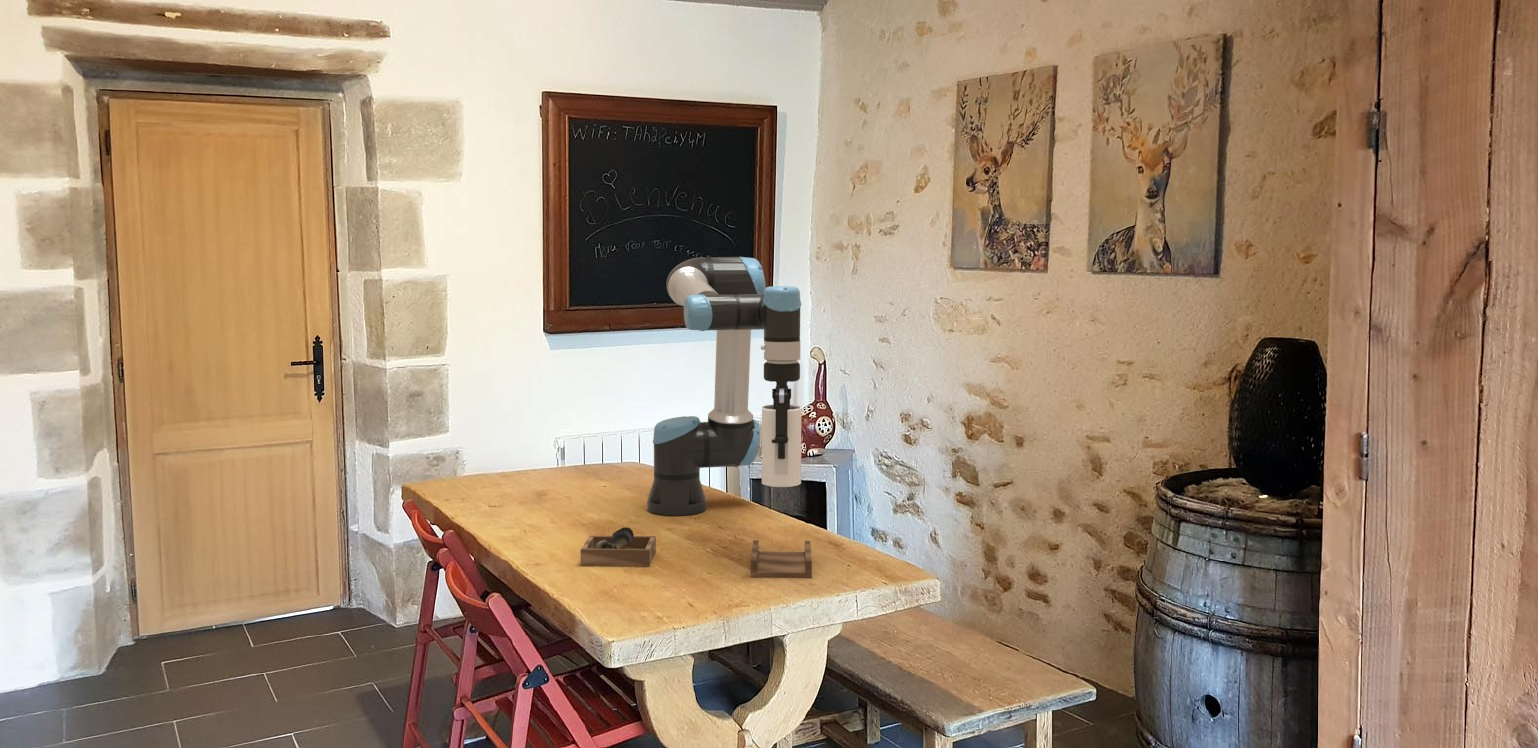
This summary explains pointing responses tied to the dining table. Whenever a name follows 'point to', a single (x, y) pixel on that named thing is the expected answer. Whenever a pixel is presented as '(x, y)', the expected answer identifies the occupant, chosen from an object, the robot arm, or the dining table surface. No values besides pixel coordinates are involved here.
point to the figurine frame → (619, 552)
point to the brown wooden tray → (781, 563)
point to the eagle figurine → (617, 539)
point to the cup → (793, 448)
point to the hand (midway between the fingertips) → (781, 469)
